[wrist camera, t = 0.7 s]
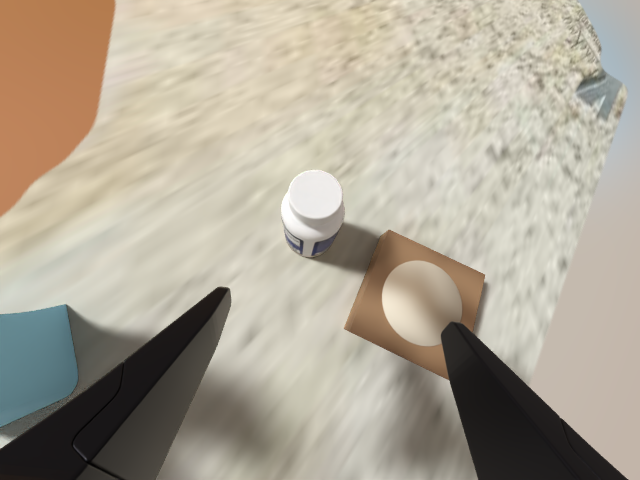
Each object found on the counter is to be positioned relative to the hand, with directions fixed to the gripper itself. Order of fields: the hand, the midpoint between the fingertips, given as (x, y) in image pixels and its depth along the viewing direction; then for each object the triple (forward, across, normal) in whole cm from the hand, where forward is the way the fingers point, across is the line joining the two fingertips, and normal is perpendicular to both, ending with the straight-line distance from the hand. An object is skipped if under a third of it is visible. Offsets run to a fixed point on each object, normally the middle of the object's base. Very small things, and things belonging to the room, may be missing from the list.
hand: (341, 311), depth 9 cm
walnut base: (+11, -10, +10) cm, 18 cm away
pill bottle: (+15, +2, +7) cm, 17 cm away
